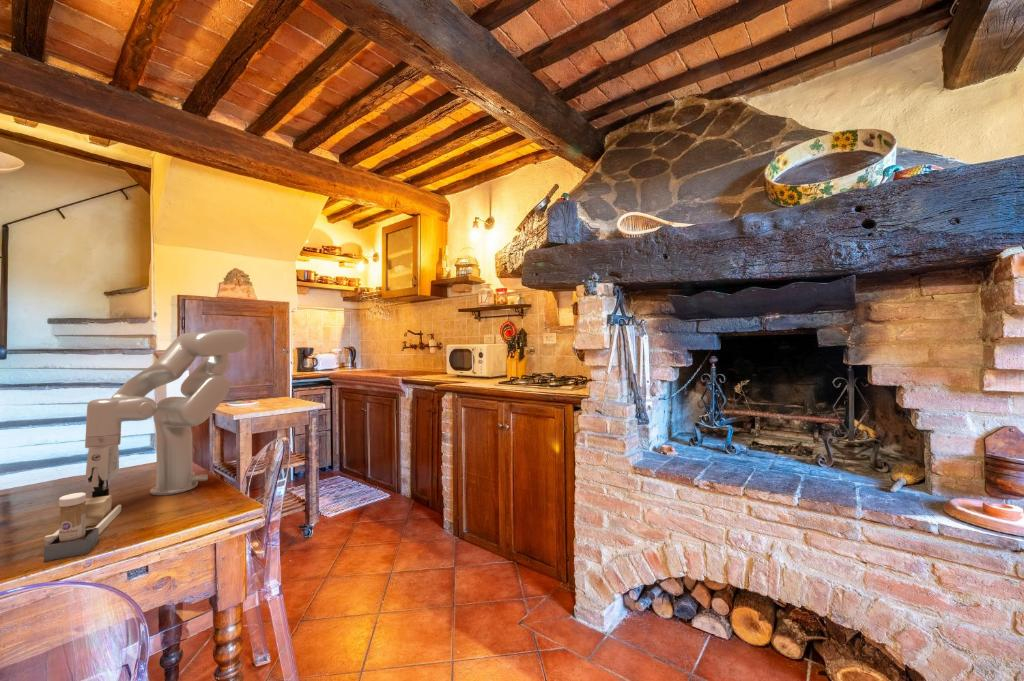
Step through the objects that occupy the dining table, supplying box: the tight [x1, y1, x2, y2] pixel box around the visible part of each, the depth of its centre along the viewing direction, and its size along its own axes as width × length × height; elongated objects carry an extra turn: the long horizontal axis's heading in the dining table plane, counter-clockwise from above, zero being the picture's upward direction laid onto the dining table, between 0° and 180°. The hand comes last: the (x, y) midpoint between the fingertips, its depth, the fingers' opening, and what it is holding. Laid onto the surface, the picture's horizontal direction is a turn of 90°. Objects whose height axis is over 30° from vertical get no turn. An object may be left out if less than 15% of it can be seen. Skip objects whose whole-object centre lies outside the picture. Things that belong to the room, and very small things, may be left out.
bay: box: [44, 504, 122, 546], centre depth 112 cm, size 9×21×3 cm, turn 29°
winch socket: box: [43, 527, 100, 562], centre depth 100 cm, size 7×7×4 cm
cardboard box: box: [85, 494, 112, 528], centre depth 116 cm, size 6×6×6 cm
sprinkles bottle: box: [58, 492, 87, 543], centre depth 101 cm, size 5×5×14 cm
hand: (100, 503), depth 122 cm, fingers closed
